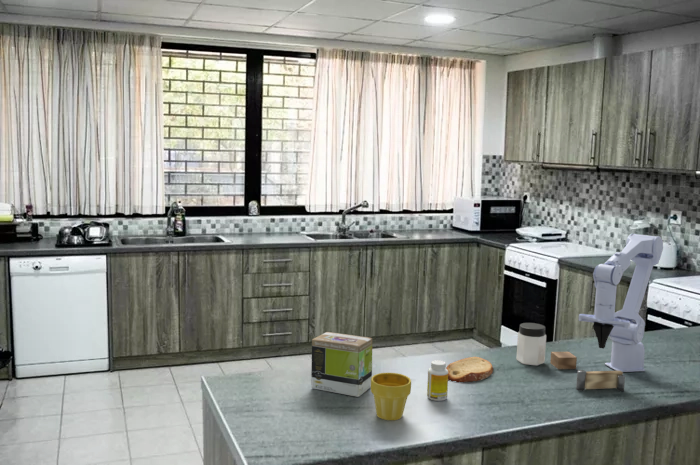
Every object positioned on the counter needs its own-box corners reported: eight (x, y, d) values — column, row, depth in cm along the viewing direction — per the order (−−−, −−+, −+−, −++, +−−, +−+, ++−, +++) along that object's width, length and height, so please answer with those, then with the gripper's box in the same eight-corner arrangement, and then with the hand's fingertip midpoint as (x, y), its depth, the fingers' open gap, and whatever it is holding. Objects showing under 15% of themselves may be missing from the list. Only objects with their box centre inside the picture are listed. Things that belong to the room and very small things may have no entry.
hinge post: (582, 387, 193) (583, 369, 192) (586, 390, 190) (587, 372, 190) (574, 388, 192) (575, 370, 192) (578, 391, 190) (580, 372, 189)
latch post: (621, 388, 193) (622, 374, 192) (625, 391, 191) (626, 376, 190) (615, 389, 192) (616, 374, 192) (619, 391, 190) (620, 377, 190)
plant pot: (416, 421, 166) (417, 384, 165) (377, 425, 163) (378, 387, 162) (401, 406, 176) (402, 370, 175) (364, 409, 173) (365, 373, 172)
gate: (586, 389, 191) (587, 373, 190) (583, 387, 192) (585, 371, 192) (621, 388, 193) (622, 372, 192) (618, 386, 194) (619, 370, 194)
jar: (534, 367, 210) (536, 331, 209) (512, 361, 216) (514, 325, 214) (548, 361, 216) (550, 326, 215) (526, 355, 222) (528, 321, 221)
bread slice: (485, 362, 215) (485, 351, 214) (506, 382, 197) (507, 370, 197) (432, 364, 212) (432, 353, 211) (449, 384, 194) (449, 372, 194)
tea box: (372, 386, 190) (373, 337, 188) (358, 398, 181) (359, 346, 179) (325, 378, 196) (326, 330, 194) (309, 389, 187) (310, 338, 185)
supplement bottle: (451, 400, 181) (452, 364, 180) (434, 403, 178) (435, 366, 177) (439, 393, 186) (441, 358, 185) (423, 396, 183) (424, 360, 182)
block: (567, 363, 216) (568, 351, 215) (575, 369, 210) (576, 357, 209) (550, 363, 215) (551, 351, 215) (557, 369, 209) (558, 357, 209)
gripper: (576, 302, 199) (574, 346, 201) (627, 310, 191) (624, 355, 193) (583, 298, 205) (580, 340, 207) (632, 305, 197) (629, 349, 199)
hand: (601, 347), depth 200 cm, fingers closed
